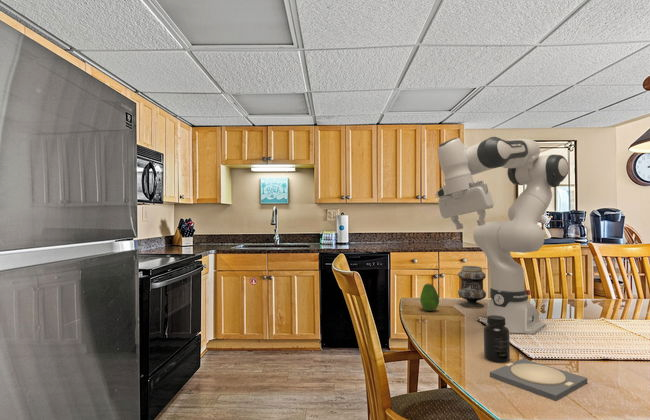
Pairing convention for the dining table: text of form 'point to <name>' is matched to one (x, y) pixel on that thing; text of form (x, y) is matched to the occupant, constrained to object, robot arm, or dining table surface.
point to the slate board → (539, 378)
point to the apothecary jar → (472, 286)
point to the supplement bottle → (496, 340)
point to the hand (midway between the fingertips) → (470, 227)
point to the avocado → (429, 297)
